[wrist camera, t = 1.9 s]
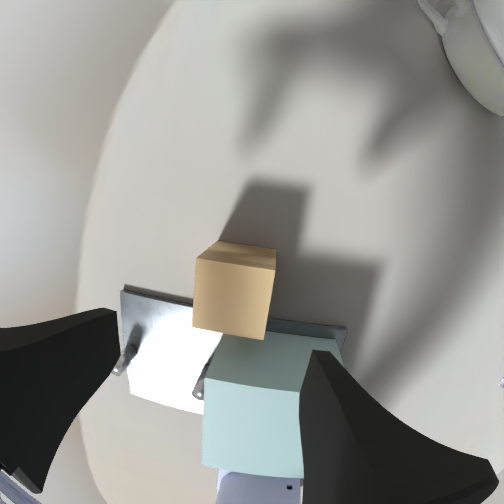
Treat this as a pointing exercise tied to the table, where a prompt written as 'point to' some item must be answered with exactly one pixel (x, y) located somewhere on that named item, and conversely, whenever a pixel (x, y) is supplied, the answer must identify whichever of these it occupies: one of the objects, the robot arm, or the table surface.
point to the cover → (257, 403)
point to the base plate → (180, 348)
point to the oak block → (233, 289)
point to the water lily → (502, 383)
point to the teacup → (474, 46)
